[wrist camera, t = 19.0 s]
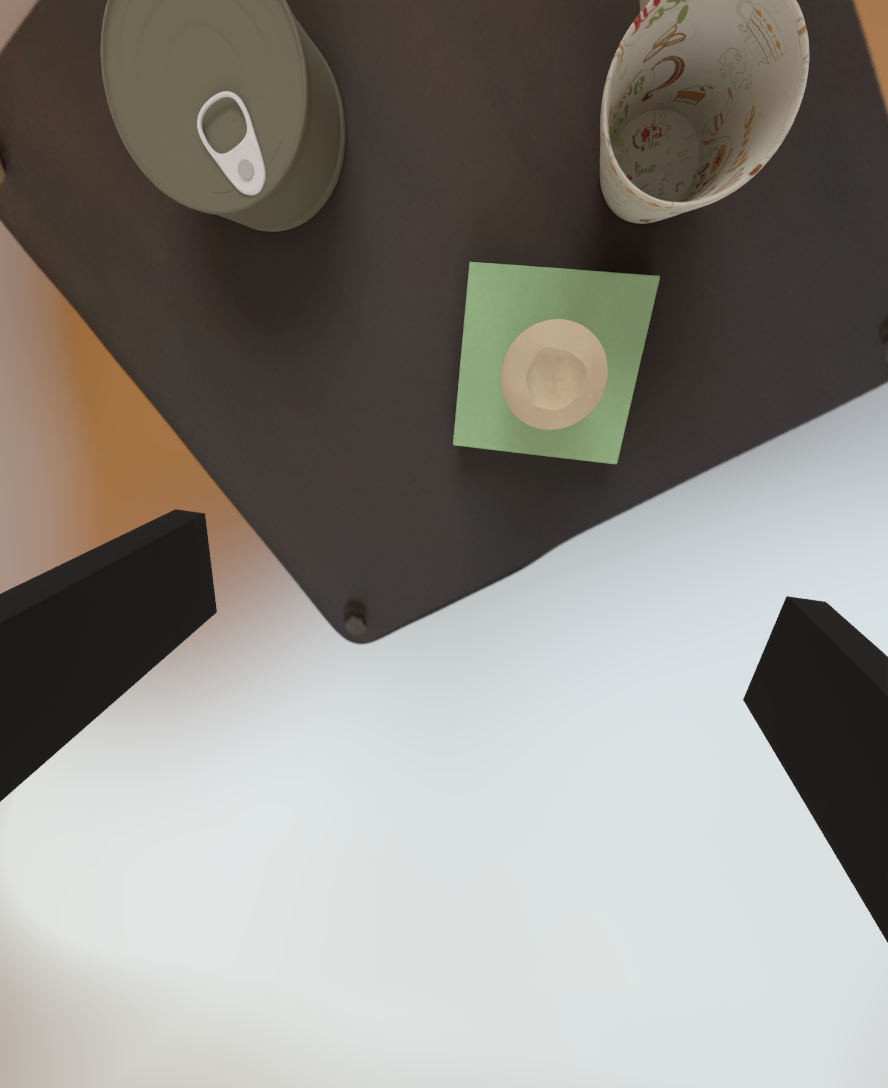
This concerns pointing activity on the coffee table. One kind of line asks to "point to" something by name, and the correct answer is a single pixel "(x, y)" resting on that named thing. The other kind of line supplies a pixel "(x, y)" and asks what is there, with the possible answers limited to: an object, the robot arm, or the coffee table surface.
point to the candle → (554, 374)
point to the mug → (698, 102)
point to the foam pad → (527, 299)
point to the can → (225, 106)
